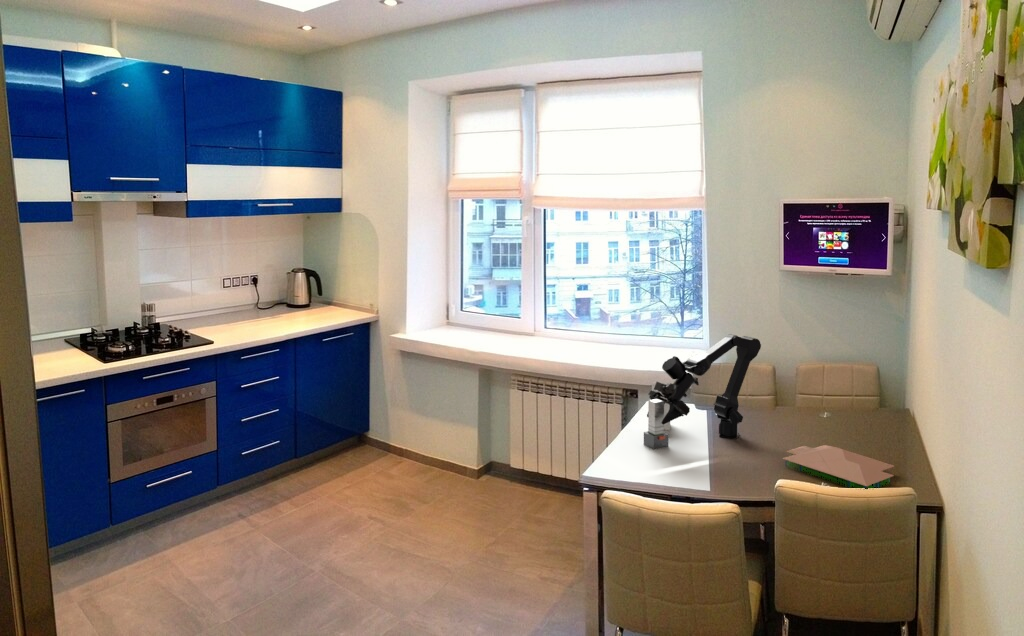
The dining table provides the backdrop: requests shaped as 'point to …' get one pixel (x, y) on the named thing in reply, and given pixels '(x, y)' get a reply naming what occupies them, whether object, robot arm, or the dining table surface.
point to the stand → (656, 440)
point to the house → (840, 465)
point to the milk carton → (666, 409)
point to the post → (655, 417)
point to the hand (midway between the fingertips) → (654, 420)
